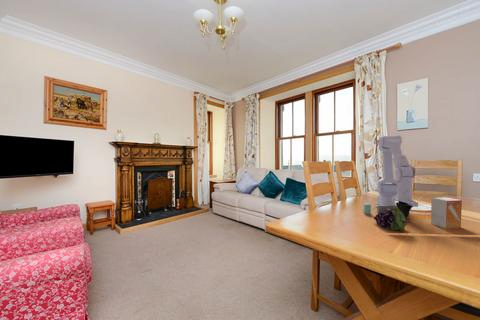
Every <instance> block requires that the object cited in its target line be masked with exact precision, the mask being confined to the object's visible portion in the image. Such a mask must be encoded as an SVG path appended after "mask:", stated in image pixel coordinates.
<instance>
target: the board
mask: <svg viewBox="0 0 480 320" xmlns="http://www.w3.org/2000/svg"><path fill="white" fill-rule="evenodd" d="M376 206H377V207H376V213H377V214H378V213H379V212H382V213H385V211H386V209H397V208H398V207H397V205H396V204H395V205H377V204H376Z"/></svg>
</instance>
